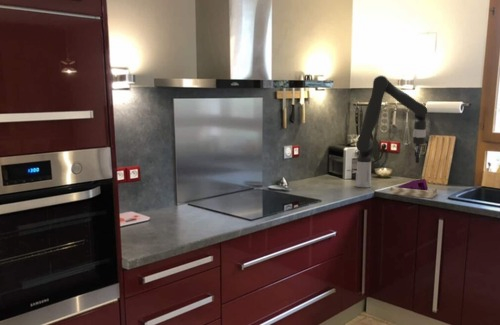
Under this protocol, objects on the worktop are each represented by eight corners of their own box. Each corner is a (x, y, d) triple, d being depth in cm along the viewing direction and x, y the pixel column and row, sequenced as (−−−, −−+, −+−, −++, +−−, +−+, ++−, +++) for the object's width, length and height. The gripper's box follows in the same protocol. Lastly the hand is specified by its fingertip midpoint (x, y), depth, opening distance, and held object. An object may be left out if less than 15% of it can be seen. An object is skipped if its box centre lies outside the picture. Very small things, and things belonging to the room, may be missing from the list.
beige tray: (390, 193, 282) (390, 187, 282) (396, 189, 294) (396, 183, 294) (432, 198, 269) (433, 191, 269) (436, 193, 281) (437, 187, 281)
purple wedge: (398, 200, 291) (417, 193, 275) (394, 187, 293) (413, 180, 277) (409, 198, 294) (429, 191, 279) (405, 186, 297) (425, 178, 281)
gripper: (415, 135, 298) (413, 160, 301) (411, 136, 287) (409, 163, 290) (427, 135, 294) (425, 161, 297) (423, 137, 283) (421, 164, 286)
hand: (417, 162), depth 293 cm, fingers closed
